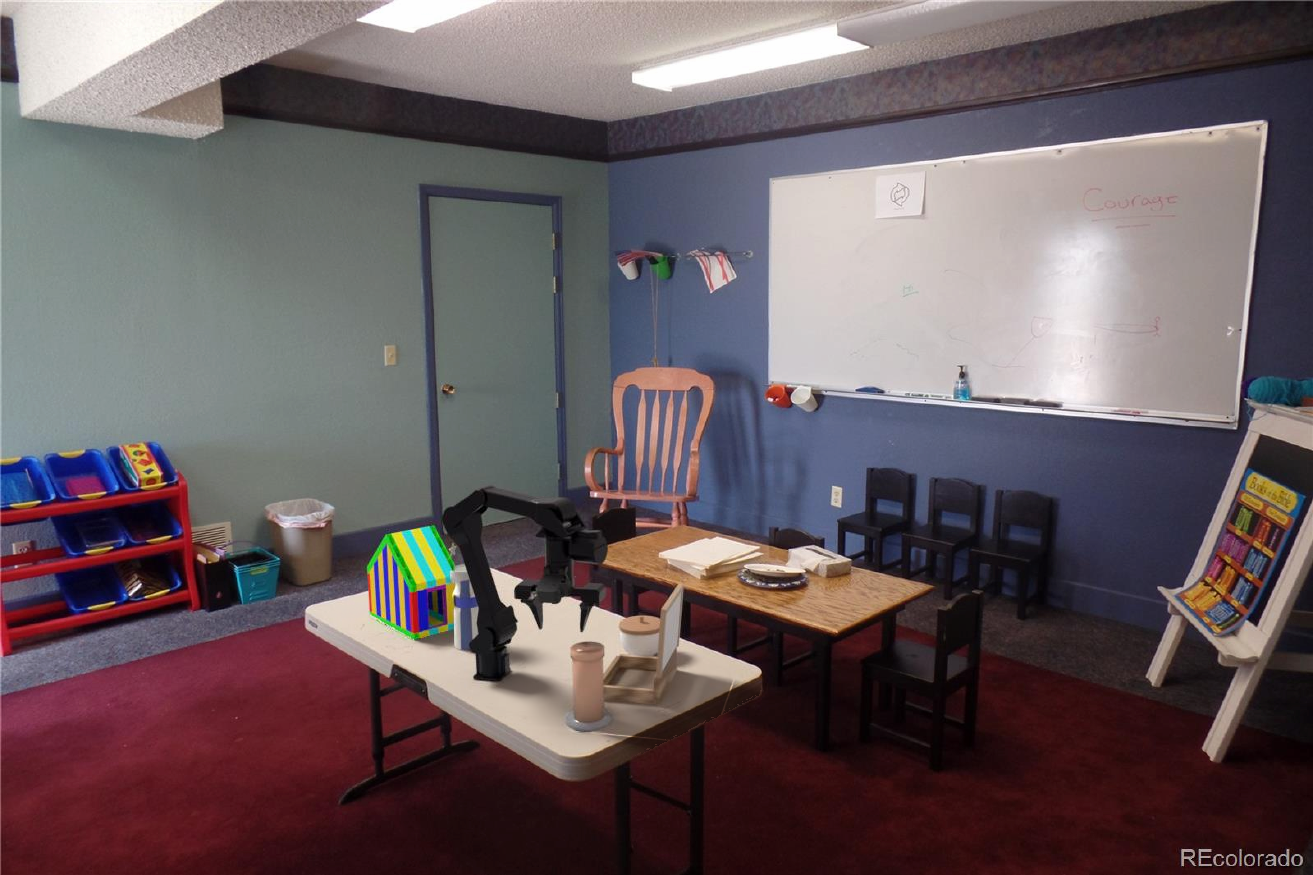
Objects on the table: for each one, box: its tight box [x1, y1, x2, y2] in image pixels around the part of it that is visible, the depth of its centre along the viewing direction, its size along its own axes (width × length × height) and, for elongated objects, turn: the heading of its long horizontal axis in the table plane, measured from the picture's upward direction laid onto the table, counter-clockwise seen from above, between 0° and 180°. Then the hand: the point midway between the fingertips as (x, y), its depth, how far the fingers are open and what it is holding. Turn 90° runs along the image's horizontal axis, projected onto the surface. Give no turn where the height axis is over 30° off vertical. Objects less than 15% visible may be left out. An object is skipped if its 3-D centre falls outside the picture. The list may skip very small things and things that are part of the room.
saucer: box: [565, 708, 612, 733], centre depth 171 cm, size 9×9×1 cm
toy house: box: [366, 525, 456, 641], centre depth 228 cm, size 24×14×25 cm, turn 44°
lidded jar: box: [618, 615, 660, 657], centre depth 204 cm, size 11×11×9 cm
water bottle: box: [448, 543, 478, 651], centre depth 211 cm, size 8×9×25 cm
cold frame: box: [603, 647, 678, 705], centre depth 187 cm, size 14×18×6 cm
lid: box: [656, 582, 685, 678], centre depth 184 cm, size 2×18×14 cm, turn 167°
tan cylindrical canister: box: [569, 640, 605, 723], centre depth 170 cm, size 7×7×14 cm
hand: (561, 630), depth 184 cm, fingers open, 9 cm apart
